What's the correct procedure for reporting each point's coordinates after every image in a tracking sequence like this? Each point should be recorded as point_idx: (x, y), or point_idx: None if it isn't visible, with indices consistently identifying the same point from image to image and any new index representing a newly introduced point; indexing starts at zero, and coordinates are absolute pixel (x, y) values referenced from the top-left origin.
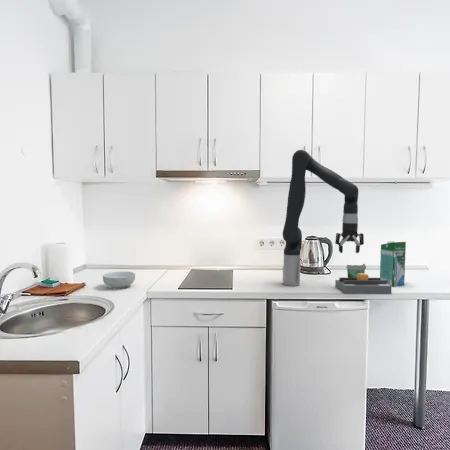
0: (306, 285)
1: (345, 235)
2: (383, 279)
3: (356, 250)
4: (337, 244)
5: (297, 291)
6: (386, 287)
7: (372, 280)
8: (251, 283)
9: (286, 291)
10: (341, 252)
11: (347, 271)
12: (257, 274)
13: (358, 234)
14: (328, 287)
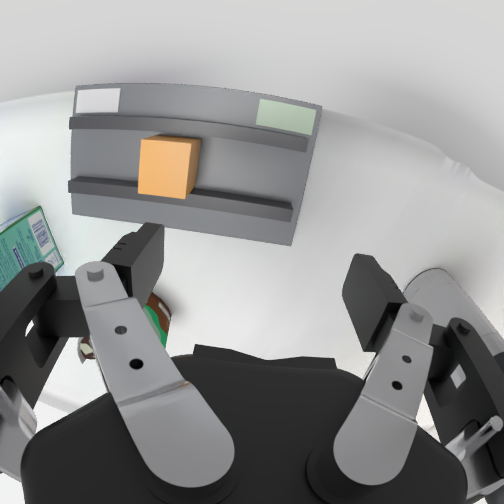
0: (390, 274)
1: (419, 471)
2: (46, 256)
3: (155, 260)
4: (443, 335)
5: (466, 195)
6: (99, 84)
7: (132, 125)
8: (500, 311)
9: (491, 205)
10: (368, 255)
11: (165, 344)
12: (421, 399)
13: (16, 459)
14: (322, 229)
